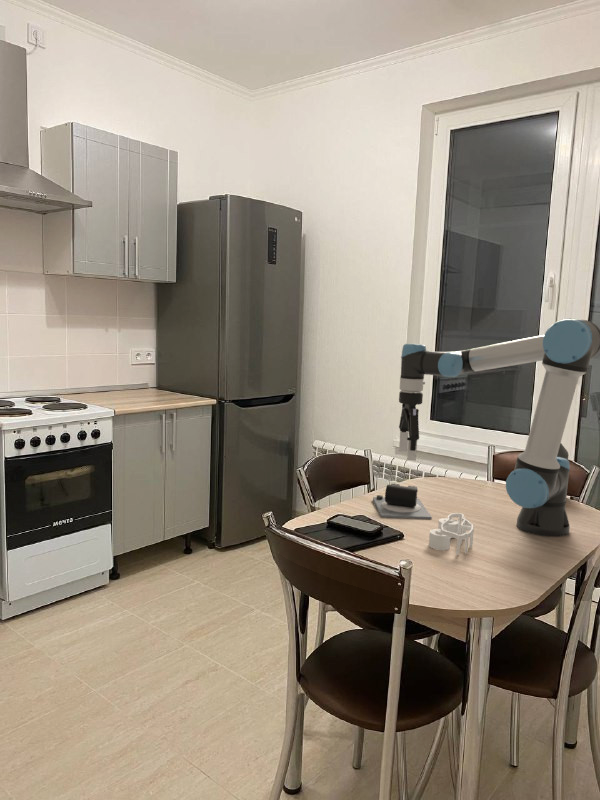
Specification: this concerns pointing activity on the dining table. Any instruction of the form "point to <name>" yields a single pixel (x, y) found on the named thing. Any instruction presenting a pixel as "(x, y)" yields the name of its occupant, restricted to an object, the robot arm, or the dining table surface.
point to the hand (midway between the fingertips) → (407, 455)
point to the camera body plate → (400, 510)
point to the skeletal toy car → (451, 533)
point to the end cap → (401, 495)
